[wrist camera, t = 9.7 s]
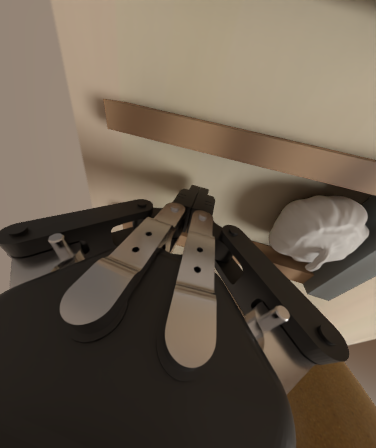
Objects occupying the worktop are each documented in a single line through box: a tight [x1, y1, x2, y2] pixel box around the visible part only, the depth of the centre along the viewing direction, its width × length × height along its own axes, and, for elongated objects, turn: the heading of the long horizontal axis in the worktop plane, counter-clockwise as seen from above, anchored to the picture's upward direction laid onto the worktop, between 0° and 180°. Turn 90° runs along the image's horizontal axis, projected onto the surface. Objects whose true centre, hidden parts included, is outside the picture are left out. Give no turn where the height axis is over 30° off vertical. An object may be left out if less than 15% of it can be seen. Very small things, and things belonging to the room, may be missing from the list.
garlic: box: [269, 196, 369, 272], centre depth 11 cm, size 6×5×5 cm
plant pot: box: [287, 361, 376, 448], centre depth 17 cm, size 15×15×16 cm
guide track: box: [103, 99, 376, 301], centre depth 12 cm, size 22×11×4 cm, turn 80°
